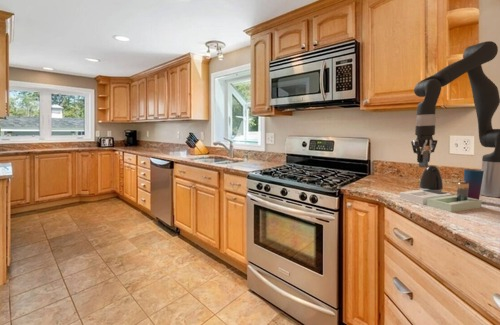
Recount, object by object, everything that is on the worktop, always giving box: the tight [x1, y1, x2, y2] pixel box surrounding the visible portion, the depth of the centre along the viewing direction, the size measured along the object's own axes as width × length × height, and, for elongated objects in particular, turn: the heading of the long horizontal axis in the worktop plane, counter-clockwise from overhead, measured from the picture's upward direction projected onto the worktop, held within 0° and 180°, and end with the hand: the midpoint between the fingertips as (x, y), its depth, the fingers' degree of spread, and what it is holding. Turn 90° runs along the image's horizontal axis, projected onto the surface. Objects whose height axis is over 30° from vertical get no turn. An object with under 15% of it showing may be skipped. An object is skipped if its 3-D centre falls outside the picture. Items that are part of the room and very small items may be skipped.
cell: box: [418, 145, 429, 168], centre depth 122 cm, size 4×4×11 cm
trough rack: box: [426, 194, 483, 213], centre depth 113 cm, size 18×10×4 cm, turn 108°
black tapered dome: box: [418, 165, 444, 192], centre depth 137 cm, size 10×10×15 cm
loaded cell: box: [456, 180, 469, 202], centre depth 114 cm, size 4×4×11 cm
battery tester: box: [399, 189, 453, 205], centre depth 125 cm, size 18×12×4 cm, turn 108°
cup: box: [463, 168, 484, 200], centre depth 120 cm, size 7×7×15 cm
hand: (423, 162), depth 123 cm, fingers closed on cell, 3 cm apart
